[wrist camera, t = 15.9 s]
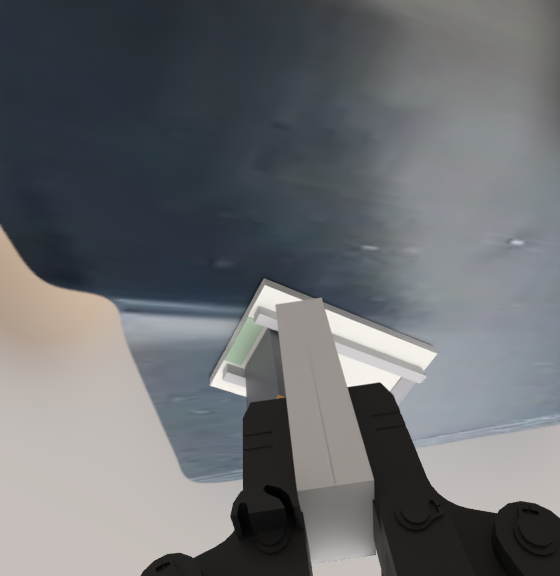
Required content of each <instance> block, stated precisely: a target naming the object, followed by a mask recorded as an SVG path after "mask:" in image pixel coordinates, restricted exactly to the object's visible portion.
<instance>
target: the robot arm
mask: <svg viewBox="0 0 560 576" xmlns="http://www.w3.org/2000/svg"><path fill="white" fill-rule="evenodd" d="M275 306H276V315H277V324H278V332H279V341H280V349H281V358H282V366H283V375H284V384H285V392H286V397H284V398H278V399H271V400H264V401H257V402H251V403H250V405H249V407H248V409H247V411H246V413H245V415H244V417H243V491H241V492H240V494H239V495H238V497H237V498H236V500H235V501H234V503H233V507H232V511H231V519H232V522H233V526H234V529H235V530H234V532H233V533H232V534H231V535H230V536H229V537H228V538H227V539H226V540H225V541H224V542H222V543H221V544H219V545H218V546H216V547H214V548H213V549H210V550H208V551H206V552H204V553H203V554H201V555H199V556H197V557H195V558H192V557H191V556H188V555H185V554H182V553H175V554H167V555H165V556H163V557H161V558H159V559H157V560H155V561H154V562H153V563H151V564H150V565H149V566H148V567H147V569H145V570H144V571H143V573H142V574H141V576H313V574H312V566H311V564H316V563H323V562H330V561H337V560H344V559H351V558H358V557H365V556H371V555H376V550H377V554H378V557H379V562H380V565H381V569H382V570H381V572H382V573H381V574H382V576H560V518H559V517H558V516H556V515H555V514H554V513H553V512H552V511H550V510H548V509H546V508H544V507H541V506H539V505H537V504H535V503H528V502H522V501H519V502H514V503H509V504H507V505H506V506H504V507H503V508H502V509H500V510H499V512H498V513H492V512H486V511H480V510H474V509H469V508H465V507H461V506H458V505H456V504H454V503H452V502H450V501H448V500H446V499H445V498H443V497H442V496H441V495H440V494H438V493H437V491H436V490H435V489H434V488H433V487H432V486H431V484H430V482H429V481H428V479H427V476H426V474H425V472H424V469H423V467H422V464H421V462H420V459H419V457H418V454H417V452H416V449H415V447H414V444H413V442H412V439H411V437H410V435H409V432H408V430H407V428H406V425H405V422H404V420H403V417H402V415H401V414H400V410H399V407H398V405H397V402H396V400H395V398H394V395H393V394H392V393H391V392H390V391H389V390H388V389H387V388H386V387H385V386H384V385H383V384H381V383H380V382H378V383H372V384H365V385H358V386H351V387H347V384H346V381H345V377H344V374H343V370H342V367H341V363H340V360H339V356H338V353H337V349H336V346H335V343H334V339H333V336H332V332H331V329H330V325H329V322H328V318H327V315H326V311H325V308H324V304H323V301H322V298H316V299H309V300H302V301H296V302H289V303H282V304H275Z"/></svg>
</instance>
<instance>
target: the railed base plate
mask: <svg viewBox="0 0 560 576" xmlns="http://www.w3.org/2000/svg"><path fill="white" fill-rule="evenodd" d="M309 299H315V298H312V297H310V296H307V295H305V294H302V293H300V292H297V291H295V290H292V289H290V288H287V287H285V286H282V285H280V284H277V283H275V282H272V281H270V280H267V279H265V278H264V279H263V280H262V282H261V284H260V286H259V288H258V290H257V292H256V293H255V295H254V297H253V299H252V301H251V303H250V305H249V306H248V308H247V310H246V312H245V314H244V316H243V317H242V319H241V321H240V323H239V325H238V327H237V329H236V330H235V332H234V334H233V336H232V338H231V340H230V342H229V343H228V345H227V347H226V349H225V351H224V353H223V354H222V356H221V358H220V360H219V362H218V364H217V366H216V367H215V369H214V371H213V373H212V375H211V377H210V386H213V387H216V388H220V389H223V390H226V391H229V392H233V393H236V394H239V395H242V396H245V397H246V376H245V366H246V365H247V363H248V361H249V359H250V358H251V356H252V354H253V353H254V351H255V349H256V347H257V346H258V344H259V342H260V340H261V339H262V337H263V335H264V333H265V332H266V330H267V328H270V329H273V330H275V331H278V324H277V315H276V306H275V304H282V303H289V302H296V301H302V300H309ZM323 304H324V308H325V311H326V315H327V318H328V322H329V325H330V329H331V332H332V336H333V339H334V343H335V346H336V349H337V353H338V356H339V360H340V363H341V367H342V370H343V374H344V377H345V381H346V384H347V387H351V386H358V385H365V384H372V383H378V382H380V383H381V384H383V385H384V386H385V387H386V388H387V389H388V390H389V391H390V392H391V393H392V394H393V395H394V398H395V400H396V402H397V405H398V404H399V403H400V402H401V400H402V399H403V398H404V397H405V395H406V394H407V393H408V392H409V390H410V389H411V388H412V387H413V385H414V384H415V383H416V382H417V383H420V384H421V383H422V381H423V380H424V379H425V378H426V374H425V373H424V370H425V368H426V367H427V366H428V365H429V363H430V362H431V361H432V360H433V358H434V357H435V356H436V355H437V353H436V351H435V350H434V348H433V347H432V346H431V345H428V344H426V343H423V342H421V341H419V340H416V339H414V338H411V337H409V336H406V335H404V334H401V333H399V332H396V331H394V330H391V329H389V328H386V327H384V326H381V325H379V324H376V323H374V322H371V321H369V320H367V319H364V318H362V317H359V316H357V315H354V314H352V313H349V312H347V311H344V310H342V309H339V308H337V307H334V306H332V305H329V304H327V303H324V302H323Z"/></svg>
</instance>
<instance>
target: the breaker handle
mask: <svg viewBox="0 0 560 576" xmlns="http://www.w3.org/2000/svg"><path fill="white" fill-rule="evenodd" d="M245 376H246V398H247V409H248V407H249V405H250V403H251V402H257V401H264V400H271V399H278V398H284V397H286V392H285V384H284V375H283V366H282V358H281V349H280V341H279V332H278V331H275V330H273V329H270V328H267V330H266V332H265V333H264V335H263V337H262V339H261V340H260V342H259V344H258V346H257V347H256V349H255V351H254V353H253V354H252V356H251V358H250V359H249V361H248V363H247V365H246V366H245Z"/></svg>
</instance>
